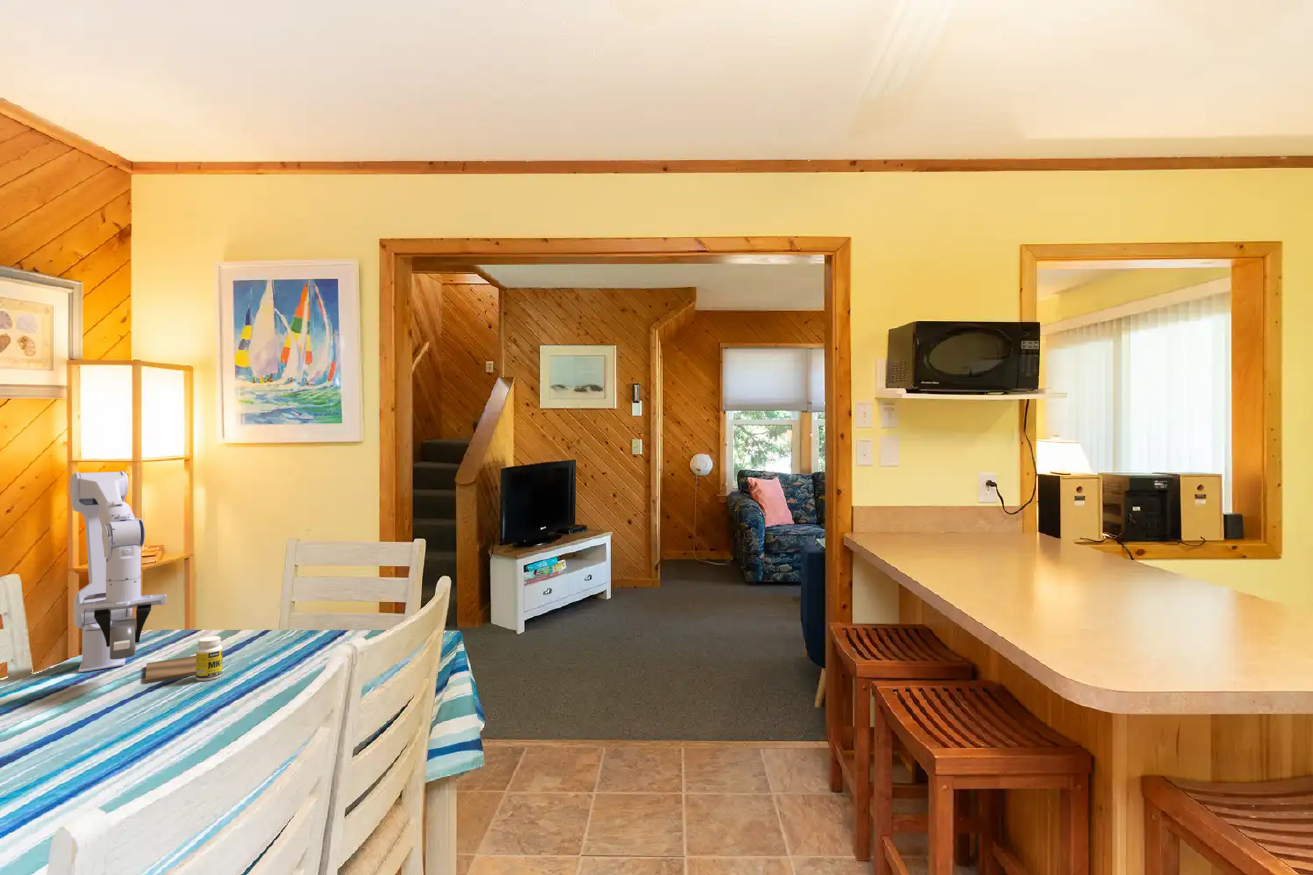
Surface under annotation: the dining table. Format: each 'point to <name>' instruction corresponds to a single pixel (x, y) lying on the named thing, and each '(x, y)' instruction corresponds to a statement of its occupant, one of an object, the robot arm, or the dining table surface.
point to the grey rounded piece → (122, 638)
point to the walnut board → (170, 669)
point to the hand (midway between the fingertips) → (123, 643)
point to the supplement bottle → (209, 658)
